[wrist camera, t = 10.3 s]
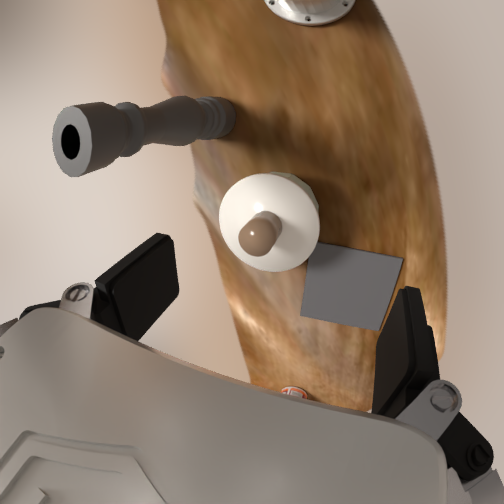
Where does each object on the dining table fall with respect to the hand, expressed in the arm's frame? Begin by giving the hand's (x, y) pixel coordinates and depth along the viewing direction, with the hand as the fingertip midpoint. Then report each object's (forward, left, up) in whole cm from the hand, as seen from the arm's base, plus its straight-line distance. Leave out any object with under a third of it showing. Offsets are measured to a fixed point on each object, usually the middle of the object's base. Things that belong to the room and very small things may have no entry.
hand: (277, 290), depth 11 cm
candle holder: (-5, -17, -30) cm, 35 cm away
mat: (+19, +5, -29) cm, 35 cm away
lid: (+8, -7, -24) cm, 26 cm away
